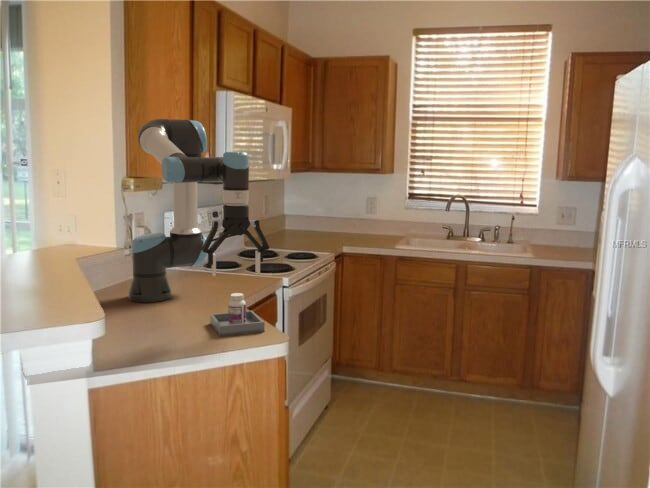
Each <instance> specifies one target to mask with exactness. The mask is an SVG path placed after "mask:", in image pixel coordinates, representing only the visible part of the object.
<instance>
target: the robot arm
mask: <svg viewBox="0 0 650 488" xmlns="http://www.w3.org/2000/svg"><path fill="white" fill-rule="evenodd" d="M137 142H138V146H139V147H140V148H141V149H142V150H143V151H144V152H145V153H146V154H149V155H151V156H153V157H154V159H155V160H156V161H157V162H158V163H159V164H160V166H161V168H160V170H161V171H160V172H161V175H162V179H163V181H164V182H166V183H172V184H173V227H172V228H171V229H170V230H169V236H166V234H165V233H164V232H151V233H145V234H142V235H138V236H136V237H134V238H133V240H132V242H131V244H132V245H131V256H132V281H131V285H130V287H129V290H128V300H129V301H131V302H135V303H157V302H162V301H166V300H169V299H171V298H172V296H173V295H172V294H173V292H172V291H173V290H172V287H171V286H170V283H169V280H168V277H167V269H172V268H182V267H194V266H199V265H202V264H203V263H204V261H205V260H206V257H207V263H208V265H209V266H211V276H213V277H216V276H217V254H215V252H216V250H217V249H218V248H219V247H220V246H221V244H223V242H224V241H225V240H226V238H227V237H229V235H230V236H245V237H246V238H247V239H248V240H249V241H250V242H251V244H253V246H254V247H255V249H257V250H255V259H254V260H255V263H254V264H255V273H257V274H261V263H263V261H264V252H265V251H267V250H269V249H270V246H269V243H268V241H267V239H266V237H265V235H264V233H263V230H261V229H262V228H261V227H260V221H259V220H258V219H255V218H254V219H253V220H250V219H249V218H250V217H249V215H250V214H249V213H250V207H249V205H248V203H249V202H250V201H249V199H250V198H249V197H250V194H249V189H250V188H249V187H250V186H249V184H250V183H249V181H250V180H249V179H250V161H249V154H248V153H247V152H245V151H225V152H224V153H223V155H222V156H218V157H217V156H215V157H209V156H208V157H202V154H204V153H206V151H207V148H208V139H207V134H206V129H205V127H204V126H203V124H202V123H201V122H200V121H197V120H194V119H193V120H191V119H176V118H175V119H173V118H166V119H165V118H155V119H151V120H149V121H147V122H145V123H144V124H143V125H142V126H141V127H140V129H139V130H138V134H137ZM198 183H222V190H223V191H222V193H223V194H222V195H223V196H222V198H223V201H222V202H223V206H222V210H223V211H222V213H223V214H222V215H223V216H222V217H223V218H222V221H220V220H219V221H217V220H216V219H215V220H212V224H211V225H212V226H211V229H210V231H209V233H208V235H207V236H206V235H204V234H203V232H202V230H201V229H200V227H199V226H198ZM250 226H251V227H252V228H254V231H255V233H256V234H257V236H258V239H259V241H260V243H261V244H260V243H259V242H258V241H257V240H256V238H255V237H254V236H253V235H252V234H251V232H250V231H249V230H248V228H249V227H250ZM221 227H223V230H222V231H221V234H219V236H218V237H217V239H216V240H215V241H214V242H213V240H214V237H215V236H216V234H217V233H218V229H220V228H221Z"/></svg>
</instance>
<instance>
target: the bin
mask: <svg viewBox="0 0 650 488" xmlns="http://www.w3.org/2000/svg"><path fill="white" fill-rule="evenodd" d="M209 319H210V320H209V321H210V323H209V324H210V325H211V326H212V328H213V330H215V332H216V333H217V335H218V336H219V337H229V336H236V335H237V336H238V335H239V336H240V335H246V334H256V332H258V333H264V332H265V321H264V320H263V319H262V318H261V317H260V316H259V315H258V314H257V313H255V312H254V310H246V323H243V324H233V325H229V315H228V312H223V313H222V312H221V313H212V314H211V313H210V315H209ZM263 331H264V332H263Z"/></svg>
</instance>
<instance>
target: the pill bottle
mask: <svg viewBox="0 0 650 488" xmlns="http://www.w3.org/2000/svg"><path fill="white" fill-rule="evenodd" d="M244 297H245V296H244V294H243V293H241V292H234V293H233V292H232V293H231V294H230V297H229V298H230V300H229V301H228V302H227V303H228V305H227V306H228V309H227V310H228V312H227V313H228V315H229V325H233V324H243V323H246V311H247V303H246V301H245V299H244Z"/></svg>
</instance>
